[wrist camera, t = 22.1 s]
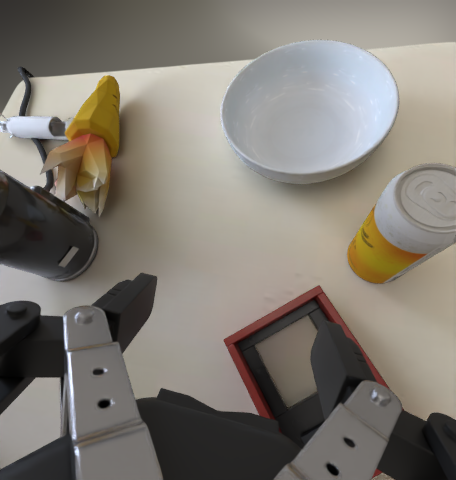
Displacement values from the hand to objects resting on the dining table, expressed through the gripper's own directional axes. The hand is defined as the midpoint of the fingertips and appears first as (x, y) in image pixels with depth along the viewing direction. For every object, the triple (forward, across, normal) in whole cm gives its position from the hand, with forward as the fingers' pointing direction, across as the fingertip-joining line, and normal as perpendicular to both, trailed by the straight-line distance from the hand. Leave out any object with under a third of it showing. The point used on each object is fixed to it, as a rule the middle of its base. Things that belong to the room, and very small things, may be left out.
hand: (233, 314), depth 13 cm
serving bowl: (+32, -4, -11) cm, 34 cm away
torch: (+34, +25, -3) cm, 42 cm away
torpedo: (+38, +39, -3) cm, 55 cm away
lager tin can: (+21, -15, +1) cm, 26 cm away
